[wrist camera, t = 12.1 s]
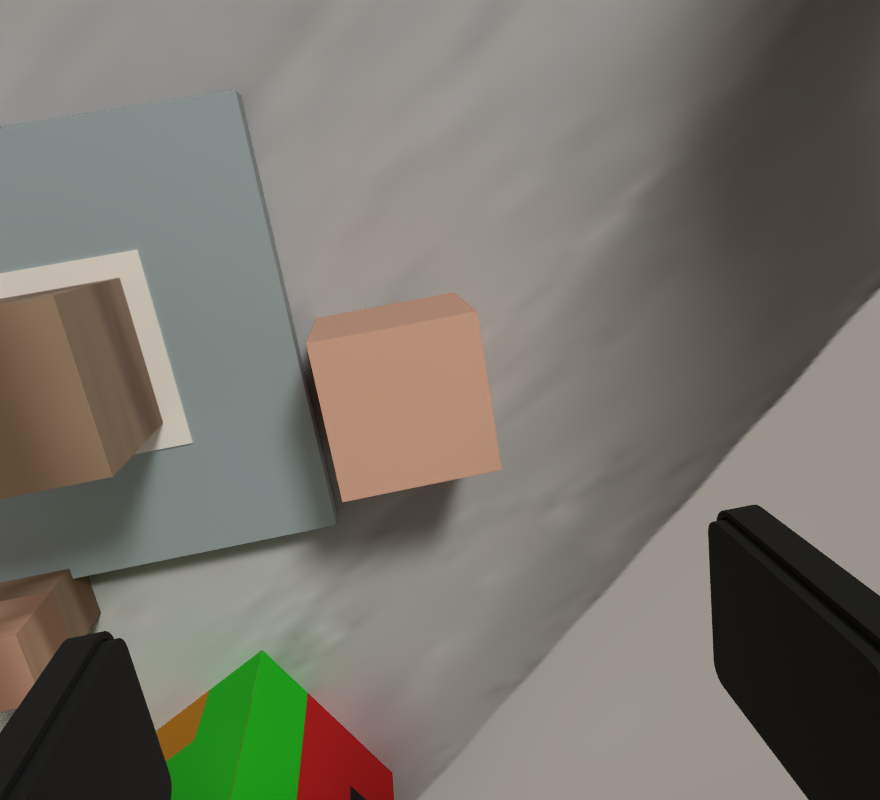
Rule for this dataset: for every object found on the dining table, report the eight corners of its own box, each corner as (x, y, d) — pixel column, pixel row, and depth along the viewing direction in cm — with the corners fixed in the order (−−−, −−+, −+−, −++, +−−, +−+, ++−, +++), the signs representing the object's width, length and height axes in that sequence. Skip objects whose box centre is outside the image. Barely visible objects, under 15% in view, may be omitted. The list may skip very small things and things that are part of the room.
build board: (240, 95, 26) (234, 88, 25) (337, 513, 31) (336, 525, 30) (-247, 173, 25) (-279, 171, 24) (-65, 595, 30) (-84, 611, 29)
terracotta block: (453, 292, 29) (477, 311, 24) (475, 422, 31) (501, 469, 25) (316, 317, 29) (306, 343, 23) (345, 448, 31) (342, 502, 25)
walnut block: (119, 277, 26) (52, 295, 21) (162, 422, 28) (113, 476, 22) (-40, 306, 26) (-153, 332, 20) (14, 451, 28) (-76, 514, 22)
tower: (80, 555, 30) (15, 634, 25) (100, 612, 31) (42, 702, 26) (11, 569, 30) (-70, 652, 24) (34, 626, 31) (-40, 720, 25)
